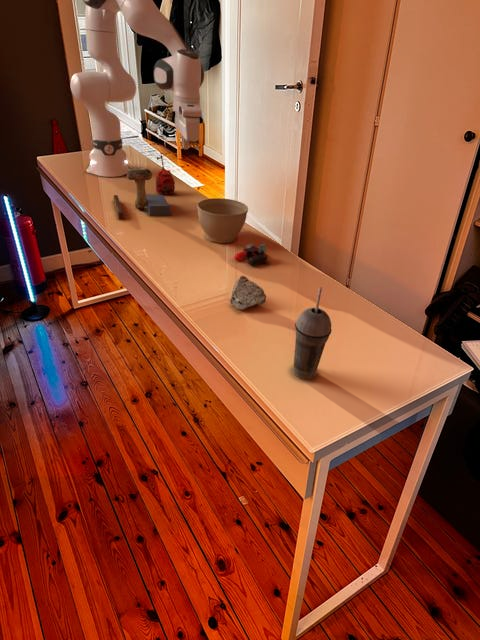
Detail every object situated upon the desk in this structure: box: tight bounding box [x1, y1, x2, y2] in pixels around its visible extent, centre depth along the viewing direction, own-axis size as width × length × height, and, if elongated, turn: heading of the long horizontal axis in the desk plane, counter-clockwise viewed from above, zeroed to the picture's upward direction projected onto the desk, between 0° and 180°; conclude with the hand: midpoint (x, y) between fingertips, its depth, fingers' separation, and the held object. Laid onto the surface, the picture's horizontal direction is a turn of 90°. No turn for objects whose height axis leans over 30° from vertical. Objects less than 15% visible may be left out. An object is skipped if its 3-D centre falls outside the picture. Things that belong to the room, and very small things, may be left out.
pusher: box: [145, 194, 171, 217], centre depth 173 cm, size 12×7×4 cm, turn 18°
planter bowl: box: [196, 197, 249, 244], centre depth 154 cm, size 16×16×11 cm
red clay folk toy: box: [155, 152, 176, 196], centre depth 186 cm, size 8×7×15 cm
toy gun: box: [233, 242, 269, 267], centre depth 144 cm, size 10×12×5 cm
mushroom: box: [126, 167, 153, 211], centre depth 168 cm, size 9×9×15 cm
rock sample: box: [229, 275, 267, 310], centre depth 121 cm, size 10×8×9 cm
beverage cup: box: [293, 286, 332, 381], centre depth 95 cm, size 7×7×20 cm
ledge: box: [112, 194, 124, 221], centre depth 169 cm, size 18×2×2 cm, turn 18°
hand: (185, 148), depth 167 cm, fingers closed
